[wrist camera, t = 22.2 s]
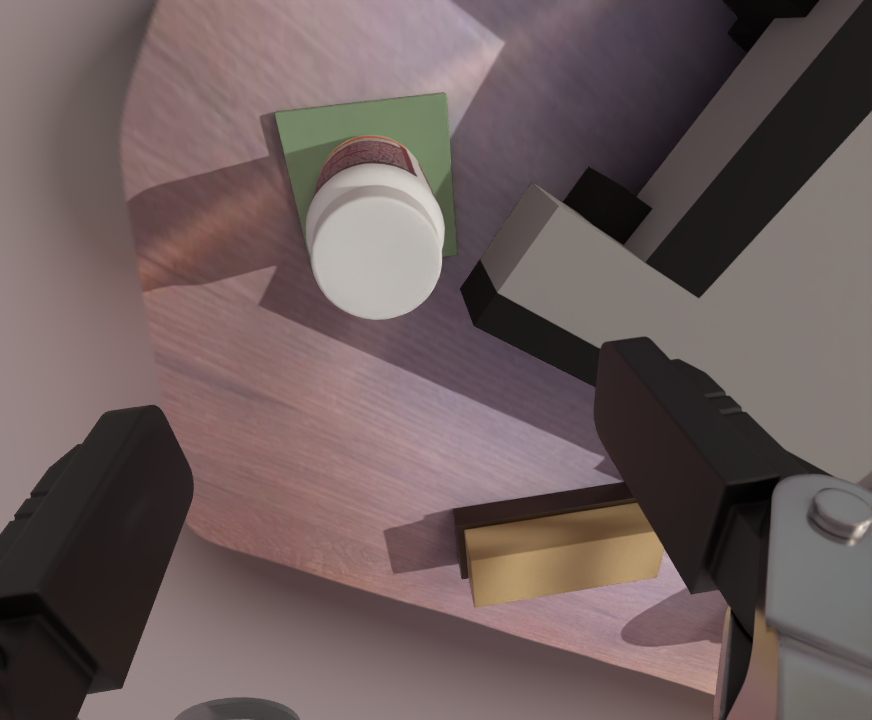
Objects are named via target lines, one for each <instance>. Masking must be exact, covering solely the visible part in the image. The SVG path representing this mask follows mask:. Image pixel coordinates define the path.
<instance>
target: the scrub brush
mask: <svg viewBox="0 0 872 720" xmlns="http://www.w3.org/2000/svg"><path fill="white" fill-rule="evenodd" d="M453 515H454V524H455V533H456V543H457V552H458V562H459V568H460V573H461V578H462V579H468V578H469V583H470V588H471V593H472V598H473V603H474V607H481V606H487V605H493V604H499V603H505V602H511V601H517V600H523V599H529V598H535V597H541V596H547V595H553V594H559V593H565V592H571V591H578V590H584V589H590V588H596V587H602V586H608V585H614V584H620V583H626V582H632V581H638V580H644V579H650V578H656V577H657V576H658V572H659V568H660V564H661V560H662V556H663V552H664V547H663V545H662V544H661V542H660V540H659V539H658V537H657V535H656V534H655V532H654V530H653V529H652V527H651V525H650V523H649V522H648V520H647V518H646V517H645V515H644V513H643V512H642V510H641V508H640V506H639V505H638V503H637V501H636V500H635V498H634V496H633V495H632V493H631V491H630V490H629V488H628V486H627V484H626V483H619V484H613V485H606V486H600V487H594V488H587V489H581V490H574V491H568V492H561V493H555V494H549V495H542V496H536V497H529V498H523V499H517V500H510V501H504V502H497V503H491V504H484V505H478V506H472V507H465V508H459V509H454V510H453Z"/></svg>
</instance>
